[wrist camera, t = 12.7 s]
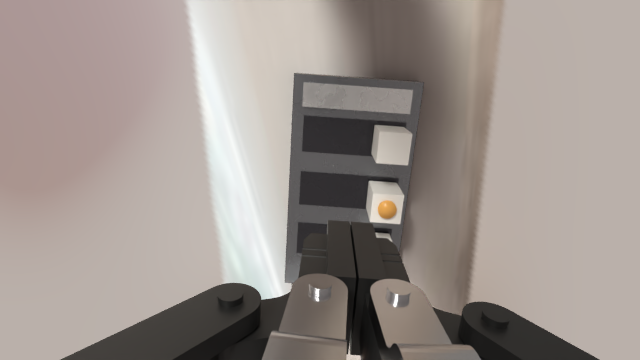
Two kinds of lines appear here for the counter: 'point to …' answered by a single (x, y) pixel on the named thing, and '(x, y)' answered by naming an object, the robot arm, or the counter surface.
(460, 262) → the counter surface
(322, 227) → the panel
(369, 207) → the block
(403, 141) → the block
